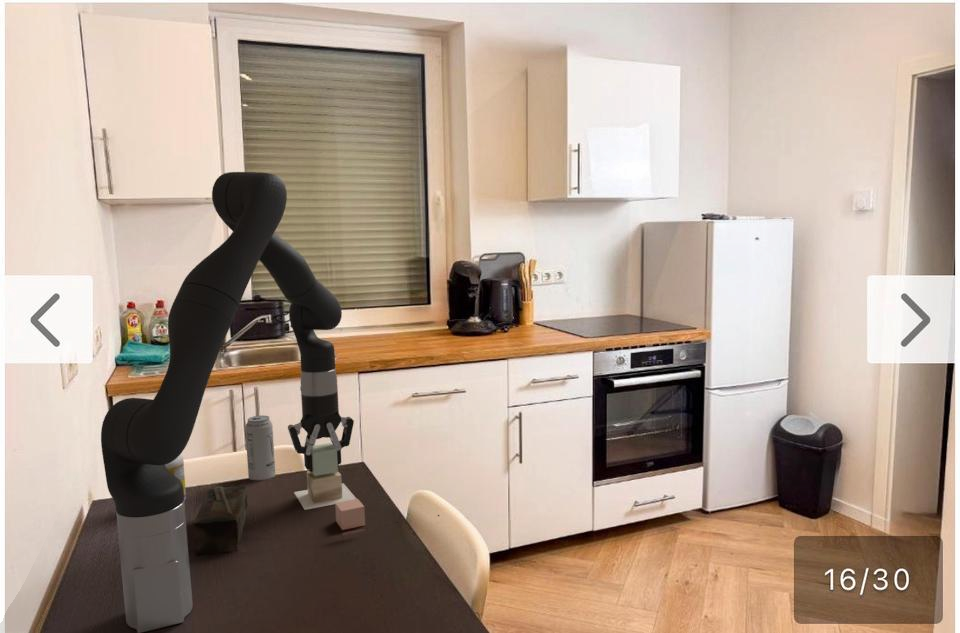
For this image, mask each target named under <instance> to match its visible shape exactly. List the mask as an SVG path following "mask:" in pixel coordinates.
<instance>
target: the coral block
mask: <svg viewBox="0 0 960 633" xmlns="http://www.w3.org/2000/svg"><path fill="white" fill-rule="evenodd" d="M334 505H335V520H336V521H335V522H336V523H337V525H338V526H339V527H340V529H341V530H342V531H344V530H349V529H353V528H359V527H362V526H366V513H365V511H366V510H365V506H364V505H363V503H362V502H361V501H360V500H359V498H356V499H353V500H348V501H343V502H338V503H335V504H334ZM363 531H364V532H366V527H364V528H363V527H362V528H359V529H355V530H350V531H344V532H341V533H340V534H341V536H342V537H344V535H345V536H349V535H348V534H350V535H354V534H358V533H363Z"/></svg>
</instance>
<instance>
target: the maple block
mask: <svg viewBox="0 0 960 633" xmlns="http://www.w3.org/2000/svg"><path fill="white" fill-rule="evenodd" d="M342 481H343V480H342V474H341V473H340V472H339V471H338V472H336V473H330V474H324V475H318V476H314V475H313V474H312V472H309V470H307V471H306V484H307V490H308V495H309V496H310V498H311V499H312V501H313V502H314V503H318V502H323V501H328V500H334V499H339V498H342Z"/></svg>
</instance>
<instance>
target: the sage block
mask: <svg viewBox="0 0 960 633" xmlns="http://www.w3.org/2000/svg"><path fill="white" fill-rule="evenodd" d="M311 455H312V467H313V471H312V474H313V475H314V476H318V475H324V474H330V473H336V472H339V467H338V461H337V449H336V448H335V447H334V446H333V444H332V442H330V443H329V442H328V443H323V444H317V445H314V446H313V449H312V453H311Z"/></svg>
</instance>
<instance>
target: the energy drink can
mask: <svg viewBox="0 0 960 633" xmlns="http://www.w3.org/2000/svg"><path fill="white" fill-rule="evenodd" d="M245 442H246V459H247V472H248V473H247V474H248V480H251V481H266V480H268V479H271V478H274V477H276V464H275V463H276V462H275V461H276V460H275V448H274V447H275V446H274V430H273V423H272V421H271V420H270V416H268V415H255V416H251V417H248V418H247V422H246V424H245Z"/></svg>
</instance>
